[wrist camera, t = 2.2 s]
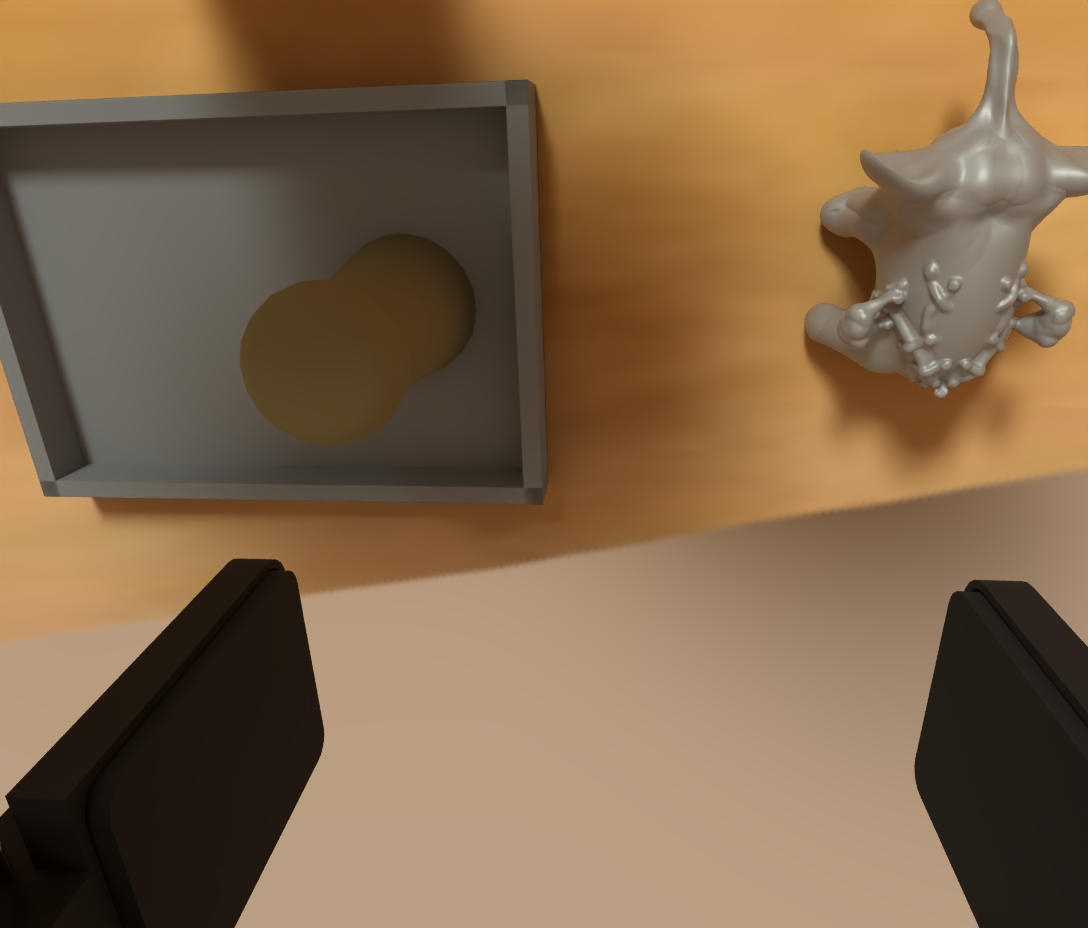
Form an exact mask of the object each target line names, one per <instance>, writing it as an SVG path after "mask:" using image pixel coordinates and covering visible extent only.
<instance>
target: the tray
mask: <svg viewBox="0 0 1088 928" xmlns="http://www.w3.org/2000/svg"><path fill="white" fill-rule="evenodd" d="M405 233H406V234H410V235H414V236H418V237H423V238H427V239H429V240H431V241H432V242H434V243H436V244H437V245H439V246H441V247H442V248H444V249H446V250H447V251H448V252H449V253H450V254H451V255H452V256H453V257H454V258H455V259H456V261H457V262H458V263H459V264H460V265H461V266H462V267H463V268H464V270H465V273H466V275H467V277H468V279H469V281H470V283H471V286H472V288H473V290H474V298H475V305H476V318H475V323H474V329H473V334H472V336H471V337H470V339H469V341H468V343H467V345H466V347H465V348H464V350H463V352H462V353H461V354H460V355H458V356H457V357H456V358H455V359H454V360H453V361H452V362H451V363H450V364H448V365H447V366H445V367H444V368H442V369H440V370H438V371H436V372H434V373H433V374H431V375H429V376H427V377H425V378H423V379H422V380H420V381H418V382H416V383H414V384H412V385H410V386H409V387H408V389H407V393H406V395H405V397H404V399H403V401H402V403H401V405H400V406H399V408H398V410H397V412H396V413H395V415H394V416H393V417H392V418H391V419H390V420H389V421H388V422H387V423H386V424H385V425H384V426H382V427H381V428H380V429H379V430H378V431H377V432H376V433H375V434H373V435H370V436H368V437H365V438H363V439H360V440H358V441H355V442H353V443H350V444H347V445H336V446H319V445H315V444H311V443H307V442H303V441H299V440H297V439H295V438H293V437H292V436H290V435H288V434H286V433H284V432H283V431H281V430H279V429H277V428H275V427H274V426H273V425H272V424H271V423H270V422H269V421H268V420H267V419H266V418H265V417H264V416H263V415H262V414H261V413H260V412H259V411H258V409H257V408H256V406H255V404H254V403H253V401H252V399H251V398H250V396H249V394H248V393H247V390H246V387H245V383H244V379H243V376H242V372H241V368H240V348H241V339H242V337H243V334H244V332H245V329H246V327H247V325H248V322H249V320H250V318H251V317H252V315H253V314H254V312H255V311H256V310H257V309H258V308H259V307H260V306H261V305H262V304H263V303H264V302H265V301H266V300H267V299H268V298H269V297H270V295H272V294H274V293H276V292H278V291H280V290H283V289H285V288H287V287H289V286H291V285H293V284H296V283H299V282H302V281H313V280H324V279H327V280H328V279H329V278H330V277H331V276H332V275H333V274H334V273H335V272H336V271H337V270H338V269H339V268H340V267H341V266H343V265H344V264H345V263H346V262H347V261H348V260H349V259H350V258H351V257H352V256H353V255H354V254H355V253H356V252H357V251H358V250H359V249H360V248H361V247H362V246H363V245H365V244H367V243H369V242H371V241H373V240H375V239H378V238H380V237H382V236H385V235H395V234H405ZM0 359H1V363H2V366H3V369H4V372H5V375H6V378H7V381H8V384H9V387H10V391H11V394H12V397H13V400H14V403H15V406H16V409H17V412H18V415H19V419H20V422H21V425H22V428H23V431H24V434H25V437H26V440H27V443H28V447H29V450H30V453H31V456H32V459H33V462H34V465H35V468H36V471H37V475H38V478H39V481H40V484H41V487H42V490H43V493H44V496H51V497H111V498H172V499H233V500H293V501H354V502H414V503H475V504H535V505H543V501H544V497H545V493H546V488H547V484H548V459H547V428H546V398H545V367H544V336H543V305H542V274H541V244H540V213H539V182H538V151H537V120H536V90H535V84H533V83H532V82H530V81H529V80H510V81H488V82H465V83H442V84H420V85H397V86H374V87H352V88H329V89H306V90H284V91H261V92H239V93H216V94H193V95H171V96H148V97H125V98H103V99H80V100H57V101H35V102H12V103H0Z"/></svg>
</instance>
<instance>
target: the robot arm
mask: <svg viewBox="0 0 1088 928" xmlns="http://www.w3.org/2000/svg"><path fill="white" fill-rule="evenodd" d="M323 743H324V727H323V721H322V716H321V710H320V705H319V700H318V694H317V688H316V683H315V677H314V672H313V666H312V661H311V655H310V650H309V644H308V638H307V633H306V628H305V622H304V617H303V611H302V605H301V600H300V594H299V589H298V583H297V579H296V576H295V575H294V573H293V572H291V571H285V570H284V567H283V565H282V564H281V562H279V561H278V560H272V559H233V560H231V561H230V562H228V563H227V564H226V565H225V567H224V568H223V569H222V570H221V571H220V572H219V573H218V574H217V575H216V576H215V577H214V578H213V579H212V580H211V581H210V582H209V583H208V584H207V585H206V586H205V587H204V589H203V590H202V591H201V592H200V593H199V594H198V595H197V596H196V597H195V598H194V599H193V600H192V601H191V602H190V603H189V604H188V605H187V606H186V607H185V608H184V609H183V611H182V612H181V613H180V614H179V615H178V616H177V617H176V618H175V619H174V620H173V621H172V622H171V623H170V624H169V625H168V626H167V627H166V628H165V629H164V630H163V631H162V633H161V634H160V635H159V636H158V637H157V638H156V639H155V640H154V641H153V642H152V643H151V644H150V645H149V646H148V647H147V648H146V649H145V651H143V652H142V653H141V655H140V656H139V657H138V658H137V659H136V660H135V661H134V662H133V663H132V664H131V665H130V666H129V667H128V668H127V669H126V670H125V671H124V672H123V673H122V674H121V676H120V677H119V678H118V679H117V680H116V681H115V682H114V683H113V684H112V685H111V686H110V687H109V688H108V689H107V690H106V691H105V692H104V693H103V694H102V696H100V697H99V699H98V700H97V701H96V702H95V703H94V704H93V705H92V706H91V707H90V708H89V709H88V710H87V711H86V712H85V713H84V714H83V715H82V716H81V717H80V719H78V721H77V722H76V723H75V724H74V725H73V726H72V727H71V728H70V729H69V730H68V731H67V732H66V733H65V734H64V735H63V736H62V737H61V738H60V739H59V741H57V743H56V744H55V745H54V746H53V747H52V748H51V749H50V750H49V751H48V752H47V753H46V754H45V755H44V756H43V757H42V758H41V759H40V760H39V761H38V762H37V764H36V765H35V766H34V767H33V768H32V769H31V770H30V771H29V772H28V773H27V774H26V775H25V776H24V777H23V778H22V779H21V780H20V781H19V782H18V783H17V784H16V785H15V787H14V788H13V789H12V790H11V791H10V792H9V793H8V794H7V795H6V796H5V797H6V800H7V802H8V805H9V808H8V809H7V810H6V812H4V814H3V815H2V816H1V817H0V928H234V927H235V925H236V924H237V922H238V919H239V918H240V916H241V913H242V912H243V910H244V908H245V905H246V904H247V902H248V900H249V898H250V896H251V894H252V892H253V890H254V888H255V886H256V884H257V882H258V880H259V878H260V876H261V874H262V872H263V870H264V868H265V866H266V864H267V862H268V860H269V858H270V856H271V854H272V852H273V850H274V848H275V846H276V844H277V842H278V840H279V838H280V836H281V834H282V832H283V830H284V828H285V826H286V824H287V822H288V820H289V818H290V816H291V814H292V812H293V810H294V808H295V806H296V804H297V802H298V800H299V798H300V796H301V794H302V792H303V790H304V788H305V786H306V784H307V782H308V780H309V778H310V776H311V774H312V772H313V770H314V768H315V766H316V764H317V762H318V760H319V758H320V755H321V752H322V748H323ZM915 780H916V784H917V789H918V791H919V794H920V796H921V799H922V801H923V803H924V805H925V808H926V810H927V812H928V814H929V816H930V819H931V821H932V823H933V826H934V828H935V830H936V832H937V834H938V837H939V839H940V841H941V843H942V845H943V848H944V850H945V852H946V855H947V856H948V859H949V861H950V863H951V866H952V868H953V870H954V872H955V875H956V877H957V879H958V881H959V883H960V886H961V888H962V890H963V892H964V895H965V897H966V899H967V901H968V904H969V906H970V908H971V910H972V913H973V915H974V917H975V919H976V921H977V923H978V926H979V928H1088V647H1087V646H1086V644H1085V643H1084V642H1083V641H1082V640H1081V639H1080V638H1079V637H1078V636H1077V635H1076V634H1075V632H1074V631H1073V630H1072V629H1071V628H1070V627H1069V626H1068V625H1067V624H1066V623H1065V621H1063V619H1062V618H1061V617H1060V616H1059V615H1058V614H1057V613H1056V612H1055V611H1054V609H1053V608H1052V607H1051V606H1050V605H1049V604H1048V603H1047V602H1046V601H1045V600H1044V598H1042V596H1041V595H1040V594H1039V593H1038V592H1037V591H1036V590H1035V589H1034V588H1033V587H1032V586H1031V585H1030V584H1028V583H1027V582H1022V581H995V580H973V581H971V582H969V584H968V585H967V587H966V588H965V591H964V592H962V591H957V592H955V593H953V594H952V596H951V598H950V601H949V604H948V609H947V615H946V619H945V623H944V628H943V632H942V637H941V642H940V646H939V651H938V655H937V660H936V665H935V669H934V674H933V679H932V683H931V688H930V693H929V697H928V702H927V707H926V711H925V716H924V721H923V726H922V730H921V735H920V739H919V744H918V749H917V753H916V758H915Z"/></svg>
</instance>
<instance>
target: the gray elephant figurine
mask: <svg viewBox="0 0 1088 928" xmlns="http://www.w3.org/2000/svg"><path fill="white" fill-rule="evenodd" d="M970 21H971V23H972V25H973V26H974V27H976V28H978V29H981V30H984V31H985V32H986V35H987V37H988V39H989V44H990V55H989V64H988V71H987V80H986V85H985V90H984V94H983V97H982V99H981V101H980V104H979V106H978V108H977V109H976V111H975V112H974V113H973V115H972V116H971V117H970V118H969V120H968V121H967V122H966V123H965V124H963V125H960V126H957V127H955V128H952V129H950V130H948V131H946V132H944V133H943V134H941V135H940V136H939V137H937V138H936V139H935V140H934V141H933V142H932V143H931V145H930V146H928V147H925V148H922V149H918V150H911V151H902V152H891V153H877V154H873V153H871V152H869V151H867V150H862V151H861V154H860V161H861V165H862V168H863V170H864V171H865V173H866V174H867V176H868V177H869V178H870V179H871V180H872V181H874V182H875V183H876V184H877V185H879V186H880V187H874V188H869V187H859V188H856V189H853V190H850V191H848V192H845V193H842V194H840V195H837V196H835V197H833V198H831V199H830V200H828V201H827V202H826V203H825V204H824V206H823V207H822V209H821V212H820V219H821V222H822V224H823V225H824V227H825V228H826V229H828V230H829V231H831V232H832V233H834V234H836V235H838V236H841V237H845V238H849V237H855V238H857V239H859V240H860V241H862V242H863V243H864V244H865V245H867V246H868V247H869V248H870V249H871V251H872V253H873V256H874V259H875V264H876V282H875V289H874V290H873V291H872V294H871V298H870V300H869V301H867V302H864V303H855V304H853V305H852V306H850V307H849V308H848V309H847V311H845V310H843V309H841V308H839V307H837V306H835V305H833V304H829V303H823V304H818V305H816V306H814V307H812V308H811V309H810V310H809V311H808V313H807V314H806V317H805V330H806V333H807V335H808V336H809V337H810V338H811V339H812V340H814V341H816V342H818V343H821V344H824V345H826V346H828V347H830V348H832V349H834V350H836V351H838V352H840V353H842V354H843V355H845V356H847V357H849V358H850V359H852V360H853V361H855V362H856V363H858V364H859V365H861V366H862V367H864V368H865V369H867V370H869V371H871V372H875V373H898V374H900V375H902V376H903V377H906V379H907V380H908V381H910V382H917V383H918V385H919V386H921V387H922V388H926V387H928V386H931V387H932V388H933V394H934V396H936V397H938V398H944V397H945V396H946V395H947V394H948V388H956V387H957V386H958V385H959V384H960V383H963V382H967V381H970V380H972V379H975V378H977V377H981V376H983V375H984V374H985V371H986V369H985V366H986V364H987V363H988V361H989V360H990V359H991V357H992V356H993V355H994V354H995V353H996V352H1002V351H1003V350H1004V349H1005V345H1004V343H1005V342H1006V341H1007V340H1008V338H1009V336H1010V333H1011V331H1012V329H1014V330H1016V331H1017V332H1019V333H1020V334H1022V335H1023V336H1025V337H1026V338H1028V339H1030V340H1032V341H1034V342H1036V343H1037V344H1038V345H1039V346H1041V347H1043V348H1048V347H1052V346H1054V345H1055V344H1056V343H1057V342H1058V341H1059V340H1061V339H1062V338H1063V337H1064V336H1065V335H1066V334H1067V333H1068V332H1069V330H1070V328H1071V323H1072V317H1073V316H1074V314H1075V306H1074V304H1073V303H1072V302H1070V301H1067V300H1060V299H1057V298H1054V297H1050V296H1047V295H1044V294H1042V293H1039V292H1038V291H1036V290H1034V289H1032V288H1030V287H1028V285H1027V283H1026V280H1025V279H1024V278H1023V277H1024V276H1025V275H1026V274H1027V272H1028V266H1027V263H1026V256H1027V251H1028V247H1029V242H1030V237H1031V232H1032V231H1033V230H1034V229H1035V227H1036V226H1037V225H1038V224H1039V223H1040V222H1041V221H1042V220H1043V219H1044V218H1045V217H1046V216H1047V215H1049V214H1050V213H1051V212H1052V211H1053V210H1054V209H1055V208H1056V207H1057V206H1058V205H1059V204H1060V203H1061V202H1062V201H1063V200H1064V199H1065V198H1068V197H1077V196H1083V195H1088V146H1057V145H1055V144H1054V143H1052V142H1050V141H1049V140H1047V139H1046V138H1044V137H1043V136H1041V135H1040V134H1039V133H1038V132H1037V131H1036V130H1035V129H1034V128H1033V127H1032V126H1031V125H1030V124H1029V123H1028V122H1027V121H1026V120H1025V119H1024V118H1023V117H1022V115H1021V114H1020V112H1019V111H1018V109H1017V106H1016V103H1015V85H1016V79H1017V74H1018V62H1019V54H1018V47H1017V35H1016V31H1015V28H1014V25H1013V21H1012V19H1011V18H1010V17H1009V16H1006V15H1005V14H1004V12H1003V10H1002V6H1001V4H1000V3H999V2H998V1H997V0H980V1H978V2H977V3H976V4H975V5H974V6H973V7H972V9H971V11H970ZM1016 300H1019V301H1020V302H1028V301H1030V300H1032V301H1034V302H1035V303H1036V304H1038V305H1039V306H1040V307H1041V308H1042V310H1040V311H1038V312H1035V313H1032V314H1030V315H1027V316H1024V317H1016V316H1014V313H1013V312H1014V311H1019V310H1020V309H1021V308H1022V304H1021V303H1020V302H1018V301H1016Z"/></svg>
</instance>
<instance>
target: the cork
mask: <svg viewBox="0 0 1088 928" xmlns="http://www.w3.org/2000/svg"><path fill="white" fill-rule="evenodd" d="M475 318H476V305H475V298H474V290H473V288H472V286H471V283H470V281H469V279H468V277H467V275H466V273H465V270H464V268H463V267H462V266H461V265H460V264H459V263H458V262H457V261H456V259H455V258H454V257H453V256H452V255H451V254H450V253H449V252H448V251H447V250H446V249H444V248H442V247H441V246H439V245H437V244H436V243H434V242H432V241H431V240H429V239H427V238H423V237H418V236H414V235H410V234H406V233H405V234H395V235H385V236H382V237H380V238H378V239H375V240H373V241H371V242H369V243H367V244H365V245H363V246H362V247H361V248H360V249H359V250H358V251H357V252H356V253H355V254H354V255H353V256H352V257H351V258H350V259H349V260H348V261H347V262H346V263H345V264H344V265H343V266H341V267H340V268H339V269H338V270H337V271H336V272H335V273H334V274H333V275H332V276H331V277H330V278H329V279H328V280H327V279H324V280H313V281H302V282H299V283H296V284H293V285H291V286H289V287H287V288H285V289H283V290H280V291H278V292H276V293H274V294H272V295H270V297H269V298H268V299H267V300H266V301H265V302H264V303H263V304H262V305H261V306H260V307H259V308H258V309H257V310H256V311H255V312H254V314H253V315H252V317H251V318H250V320H249V322H248V325H247V327H246V329H245V332H244V334H243V337H242V339H241V348H240V368H241V372H242V376H243V379H244V383H245V387H246V390H247V393H248V394H249V396H250V398H251V399H252V401H253V403H254V404H255V406H256V408H257V409H258V411H259V412H260V413H261V414H262V415H263V416H264V417H265V418H266V419H267V420H268V421H269V422H270V423H271V424H272V425H273V426H274V427H275V428H277V429H279V430H281V431H283V432H284V433H286V434H288V435H290V436H292V437H293V438H295V439H297V440H299V441H303V442H307V443H311V444H315V445H319V446H336V445H347V444H350V443H353V442H355V441H358V440H360V439H363V438H365V437H368V436H370V435H373V434H375V433H376V432H377V431H378V430H379V429H380V428H381V427H382V426H384V425H385V424H386V423H387V422H388V421H389V420H390V419H391V418H392V417H393V416H394V415H395V413H396V412H397V410H398V408H399V406H400V405H401V403H402V401H403V399H404V397H405V395H406V393H407V389H408V387H409V386H410V385H412V384H414V383H416V382H418V381H420V380H422V379H423V378H425V377H427V376H429V375H431V374H433V373H434V372H436V371H438V370H440V369H442V368H444V367H445V366H447V365H448V364H450V363H451V362H452V361H453V360H454V359H455V358H456V357H457V356H458V355H460V354H461V353H462V352H463V350H464V348H465V347H466V345H467V343H468V341H469V339H470V337H471V336H472V334H473V329H474V323H475Z"/></svg>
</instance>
